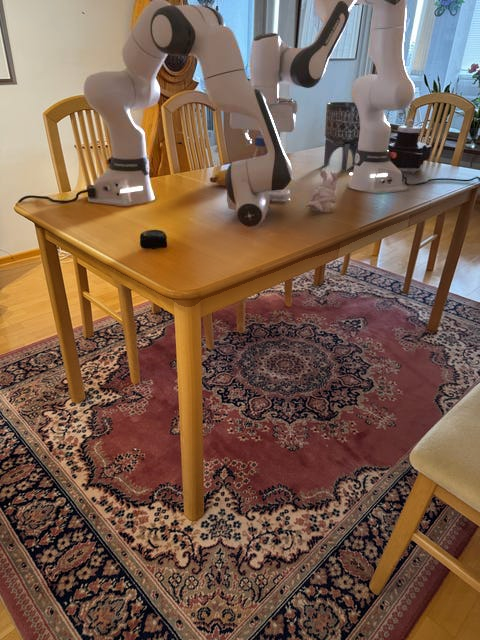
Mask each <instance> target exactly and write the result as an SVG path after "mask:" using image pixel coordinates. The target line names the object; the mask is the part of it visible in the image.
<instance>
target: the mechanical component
mask: <svg viewBox="0 0 480 640" xmlns="http://www.w3.org/2000/svg"><path fill="white" fill-rule="evenodd" d="M414 124H415V119H407V121H406V125H399V126H398V127H397V133H396V139H395V142H393V143H392V142H391V143H389V145H388V151H390V152H395V154H397V156H396V157H395V158H392V157H390V161H391V162H392V163H393V164H394V165H395V166H396V167H397V168H398V169H399V170H400V171H401V172H410V174H415V173H416V171H419V170H420V169H421V168H423V166H424V162H425V161H428V160H430V157H431V154H432V148H433V146H432V145H429V144H427V143H425V142H420V141H419V137H420V133H421V129H422V128H421V127H420V126H416V125H414Z"/></svg>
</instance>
